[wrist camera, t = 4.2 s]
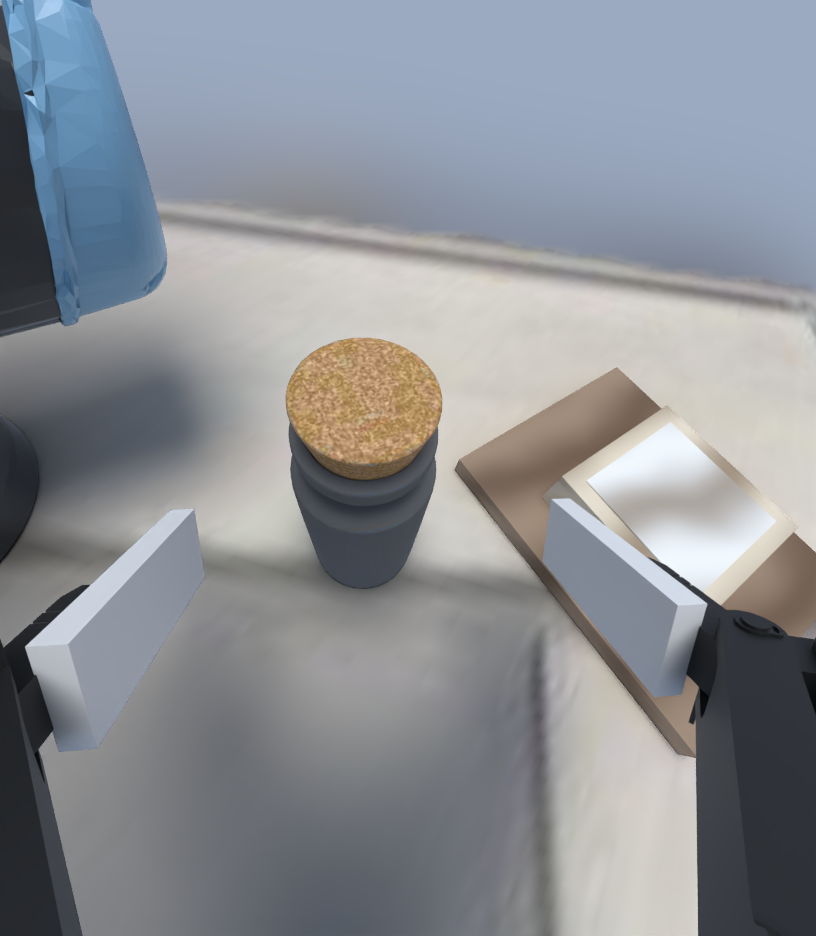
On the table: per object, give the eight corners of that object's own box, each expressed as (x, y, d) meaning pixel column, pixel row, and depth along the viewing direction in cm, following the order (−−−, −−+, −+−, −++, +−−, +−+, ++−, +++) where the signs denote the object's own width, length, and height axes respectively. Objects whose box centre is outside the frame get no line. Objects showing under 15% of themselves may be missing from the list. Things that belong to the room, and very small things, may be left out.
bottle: (402, 493, 27) (440, 319, 14) (417, 581, 25) (481, 470, 11) (313, 503, 26) (262, 327, 13) (319, 596, 24) (265, 494, 11)
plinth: (454, 469, 29) (470, 434, 24) (606, 379, 34) (640, 338, 30) (677, 753, 22) (749, 770, 18) (823, 586, 27) (904, 570, 23)
